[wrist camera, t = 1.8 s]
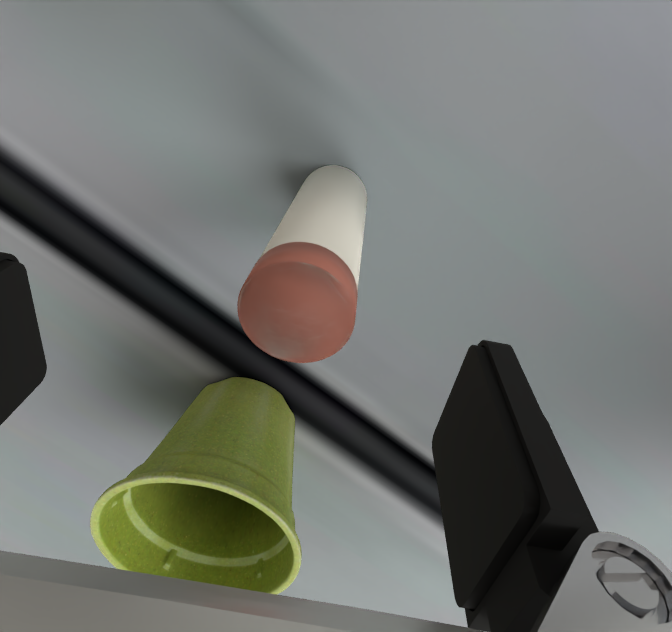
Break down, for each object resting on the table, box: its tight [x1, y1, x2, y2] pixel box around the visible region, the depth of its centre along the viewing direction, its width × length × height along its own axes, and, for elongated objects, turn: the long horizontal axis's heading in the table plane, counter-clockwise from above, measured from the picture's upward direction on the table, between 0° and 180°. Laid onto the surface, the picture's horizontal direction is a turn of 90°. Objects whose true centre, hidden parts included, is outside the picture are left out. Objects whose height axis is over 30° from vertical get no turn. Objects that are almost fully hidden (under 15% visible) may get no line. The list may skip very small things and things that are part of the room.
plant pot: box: [90, 377, 301, 595], centre depth 24 cm, size 9×9×9 cm
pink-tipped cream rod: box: [238, 165, 367, 363], centre depth 16 cm, size 3×3×10 cm
